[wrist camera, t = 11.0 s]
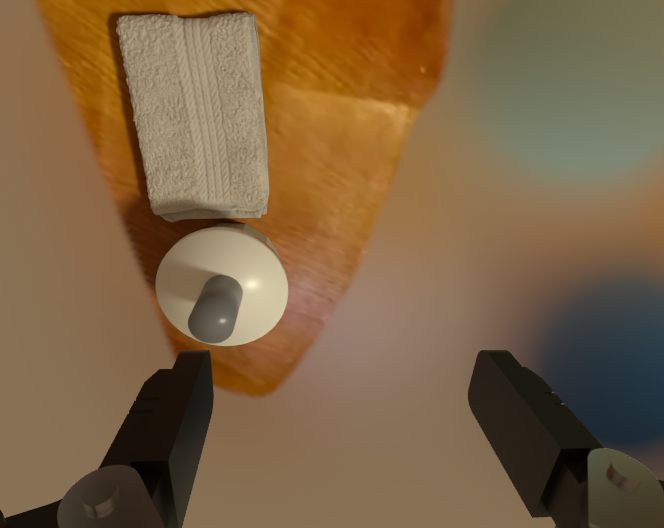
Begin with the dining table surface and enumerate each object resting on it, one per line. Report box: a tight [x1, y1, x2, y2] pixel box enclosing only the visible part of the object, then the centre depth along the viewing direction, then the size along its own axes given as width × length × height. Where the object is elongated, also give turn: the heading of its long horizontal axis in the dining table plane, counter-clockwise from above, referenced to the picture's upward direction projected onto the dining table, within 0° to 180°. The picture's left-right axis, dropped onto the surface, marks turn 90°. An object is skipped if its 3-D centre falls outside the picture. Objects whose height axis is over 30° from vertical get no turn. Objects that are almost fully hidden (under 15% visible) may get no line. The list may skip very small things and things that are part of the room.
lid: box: [155, 227, 288, 346], centre depth 33 cm, size 12×12×7 cm
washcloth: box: [116, 12, 269, 223], centre depth 35 cm, size 12×18×3 cm, turn 1°
